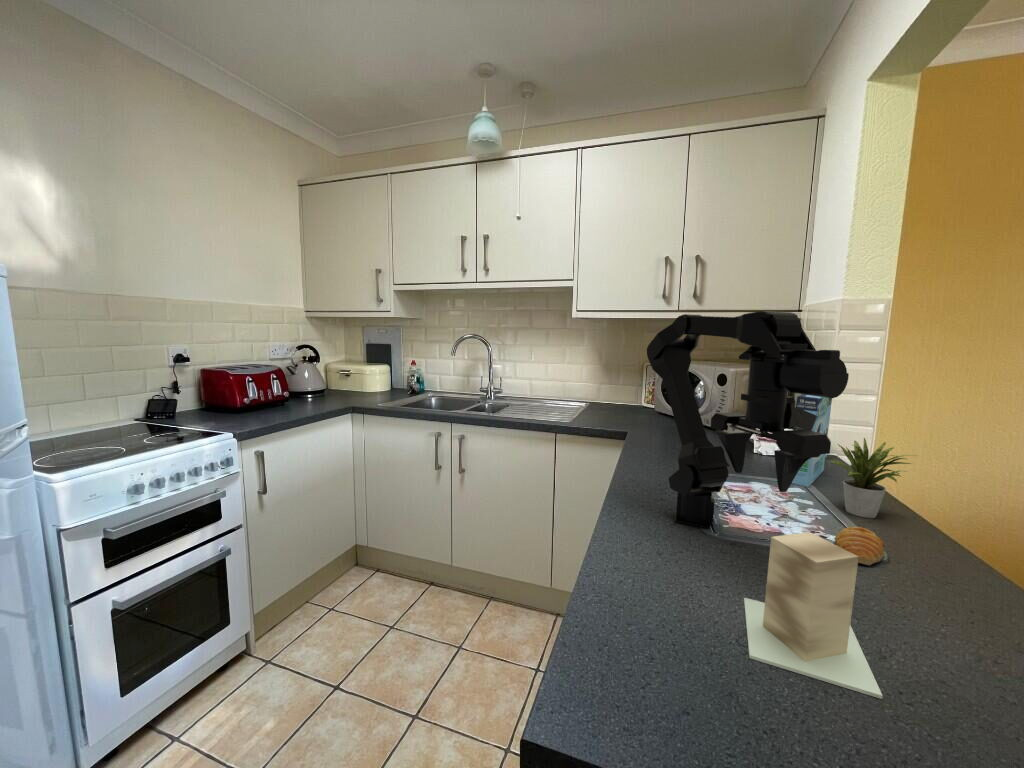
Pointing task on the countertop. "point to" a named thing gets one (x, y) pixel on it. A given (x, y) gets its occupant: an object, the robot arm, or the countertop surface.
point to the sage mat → (833, 669)
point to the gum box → (822, 411)
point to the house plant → (866, 479)
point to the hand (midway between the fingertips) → (759, 481)
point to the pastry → (861, 544)
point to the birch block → (810, 595)
